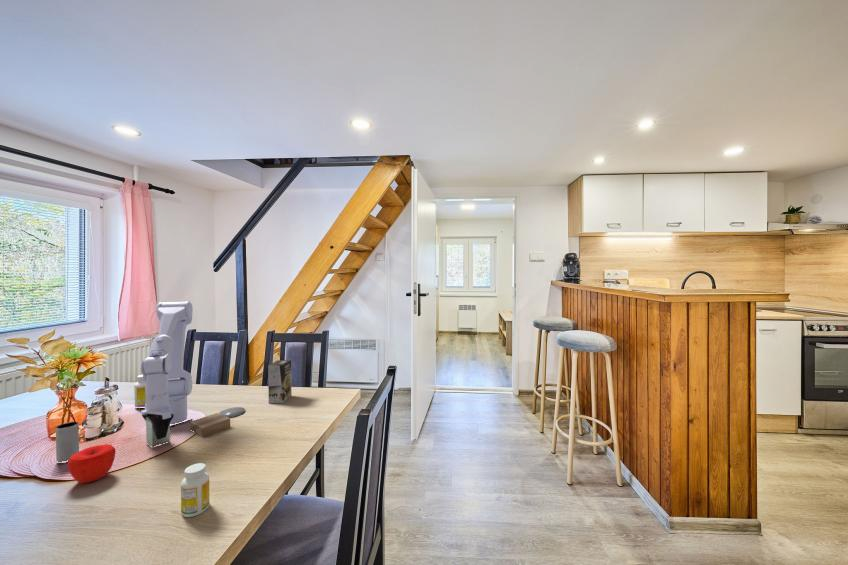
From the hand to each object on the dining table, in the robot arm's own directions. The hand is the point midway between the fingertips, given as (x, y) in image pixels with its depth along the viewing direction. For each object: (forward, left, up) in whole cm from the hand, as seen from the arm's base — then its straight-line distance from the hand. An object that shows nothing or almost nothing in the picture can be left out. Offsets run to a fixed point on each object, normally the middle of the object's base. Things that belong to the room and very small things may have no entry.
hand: (158, 436), depth 107 cm
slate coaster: (-4, +25, -2) cm, 25 cm away
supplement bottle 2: (+44, -8, -3) cm, 45 cm away
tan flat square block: (+3, +14, -2) cm, 15 cm away
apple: (+8, -17, -3) cm, 19 cm away
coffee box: (-1, +44, -3) cm, 44 cm away
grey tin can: (-11, -18, -3) cm, 21 cm away
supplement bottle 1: (-42, +10, -3) cm, 43 cm away
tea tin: (0, 0, -2) cm, 2 cm away
